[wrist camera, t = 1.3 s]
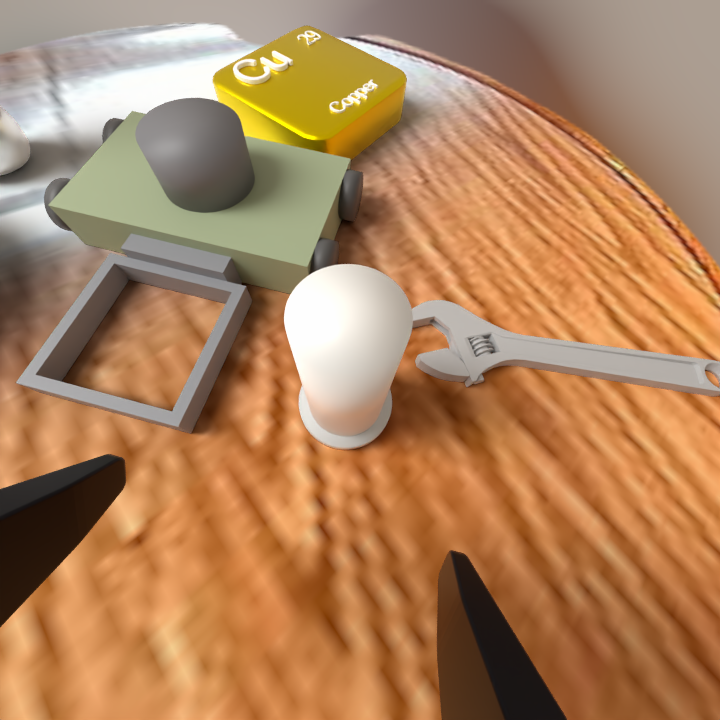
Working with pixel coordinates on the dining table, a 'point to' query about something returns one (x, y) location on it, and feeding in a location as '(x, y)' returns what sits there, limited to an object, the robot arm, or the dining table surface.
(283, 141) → the element tile
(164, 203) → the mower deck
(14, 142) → the plastic bottle
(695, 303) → the dining table surface
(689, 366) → the adjustable wrench
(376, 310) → the white cylindrical piece
